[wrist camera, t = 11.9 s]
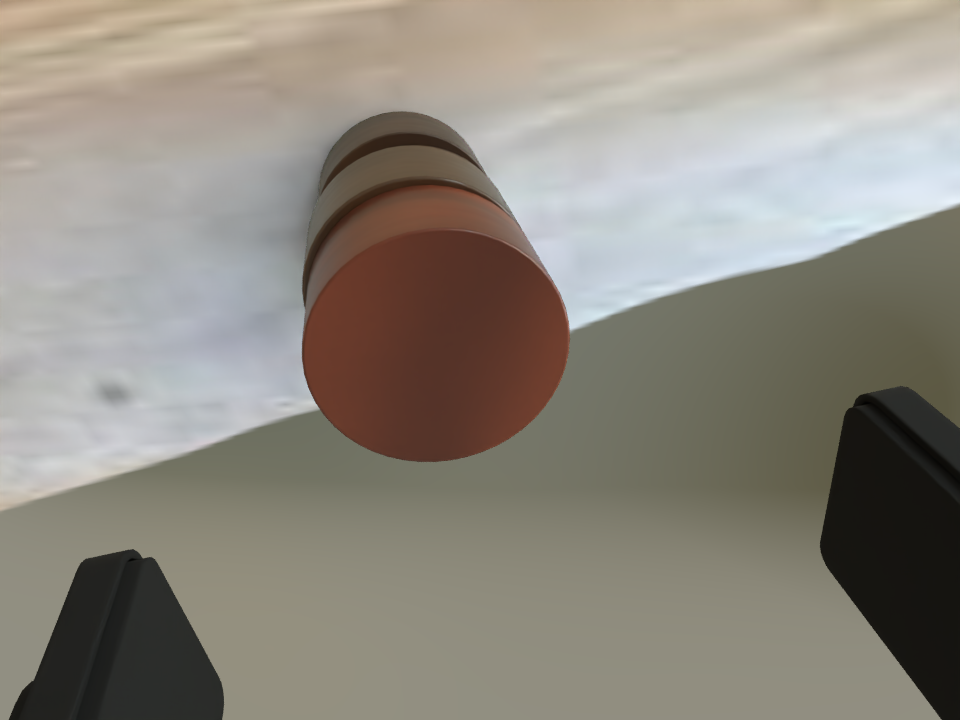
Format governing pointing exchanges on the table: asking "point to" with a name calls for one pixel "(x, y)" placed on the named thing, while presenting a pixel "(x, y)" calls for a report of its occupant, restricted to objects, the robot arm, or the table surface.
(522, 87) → the table surface
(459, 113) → the table surface
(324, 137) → the table surface
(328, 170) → the stacked discs
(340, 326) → the reddish-brown squat cylinder
